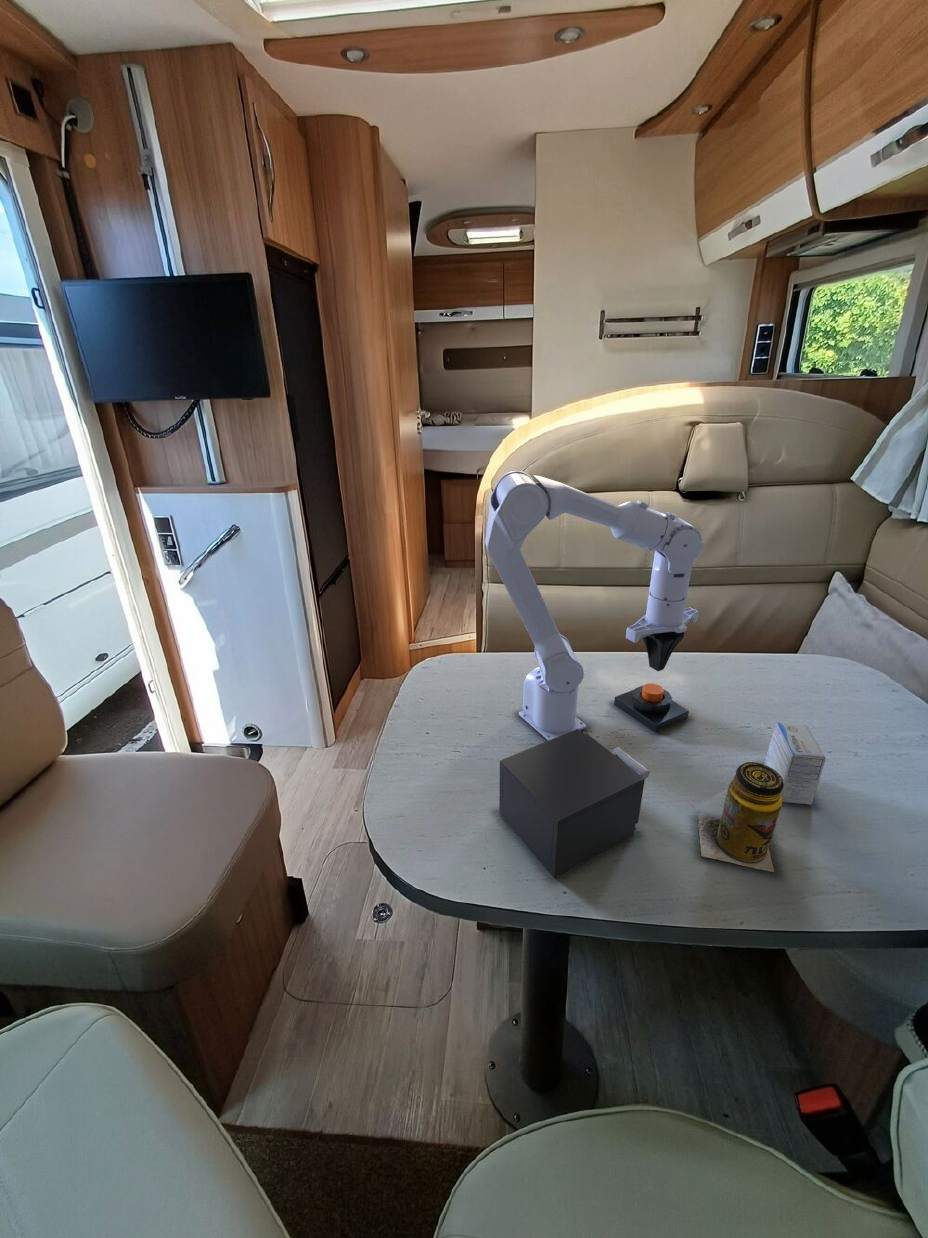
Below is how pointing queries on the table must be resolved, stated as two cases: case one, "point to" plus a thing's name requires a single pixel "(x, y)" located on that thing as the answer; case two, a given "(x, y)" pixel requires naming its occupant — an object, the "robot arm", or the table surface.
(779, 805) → the condiment
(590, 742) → the grey cube with drawer
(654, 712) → the control block
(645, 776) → the drawer
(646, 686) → the button
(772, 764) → the medicine box
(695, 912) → the table surface
